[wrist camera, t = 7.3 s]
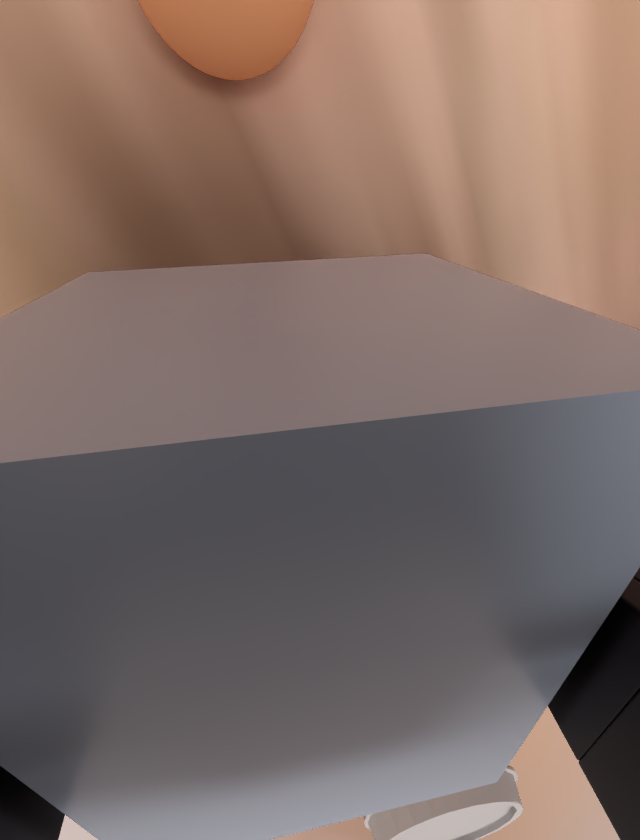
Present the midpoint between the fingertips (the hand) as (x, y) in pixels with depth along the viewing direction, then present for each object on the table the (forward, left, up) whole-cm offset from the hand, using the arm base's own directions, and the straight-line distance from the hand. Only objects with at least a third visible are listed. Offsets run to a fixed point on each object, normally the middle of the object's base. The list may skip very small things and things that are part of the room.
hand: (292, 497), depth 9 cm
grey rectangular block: (0, 0, -2) cm, 3 cm away
